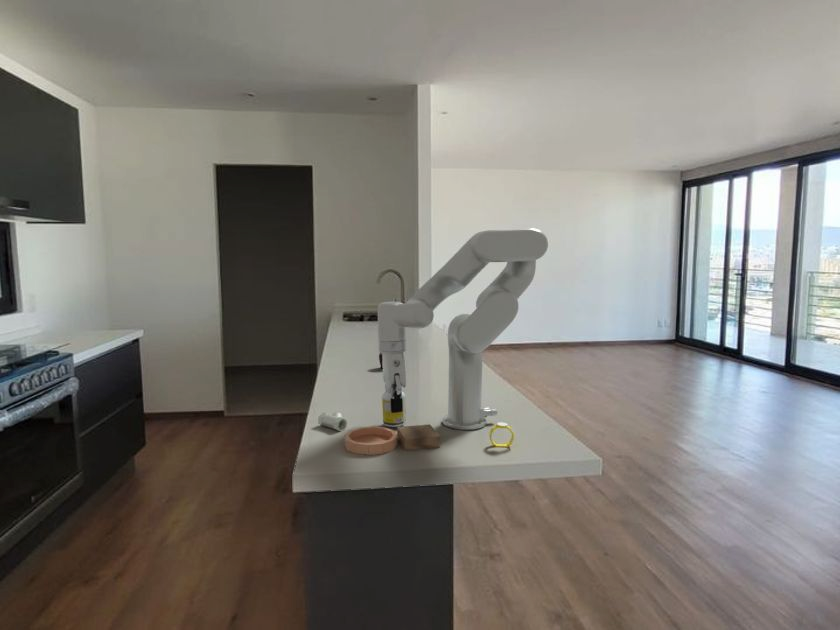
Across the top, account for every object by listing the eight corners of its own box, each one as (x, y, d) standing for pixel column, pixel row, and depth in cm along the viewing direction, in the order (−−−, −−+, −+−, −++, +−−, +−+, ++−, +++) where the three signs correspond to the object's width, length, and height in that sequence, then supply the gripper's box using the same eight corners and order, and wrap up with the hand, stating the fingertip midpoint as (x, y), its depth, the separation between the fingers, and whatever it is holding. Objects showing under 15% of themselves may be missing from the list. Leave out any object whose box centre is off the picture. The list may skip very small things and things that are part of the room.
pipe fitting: (335, 422, 148) (317, 426, 143) (336, 409, 148) (318, 413, 143) (354, 428, 143) (337, 433, 138) (355, 415, 143) (338, 419, 138)
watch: (511, 445, 130) (514, 423, 130) (513, 449, 128) (515, 427, 127) (488, 443, 131) (490, 421, 130) (489, 447, 128) (491, 424, 127)
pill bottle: (395, 418, 149) (394, 380, 147) (410, 423, 144) (409, 383, 143) (378, 424, 144) (377, 384, 143) (393, 429, 139) (392, 388, 138)
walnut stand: (429, 435, 137) (429, 424, 136) (439, 447, 128) (439, 435, 128) (397, 438, 134) (397, 427, 134) (405, 450, 126) (405, 438, 125)
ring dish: (390, 433, 137) (390, 424, 137) (401, 451, 125) (401, 441, 125) (342, 438, 134) (342, 428, 134) (348, 456, 121) (348, 446, 121)
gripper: (412, 350, 134) (414, 416, 136) (398, 340, 151) (400, 398, 153) (385, 352, 132) (387, 419, 134) (373, 341, 149) (375, 401, 151)
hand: (394, 407), depth 143 cm, fingers closed on pill bottle, 6 cm apart
